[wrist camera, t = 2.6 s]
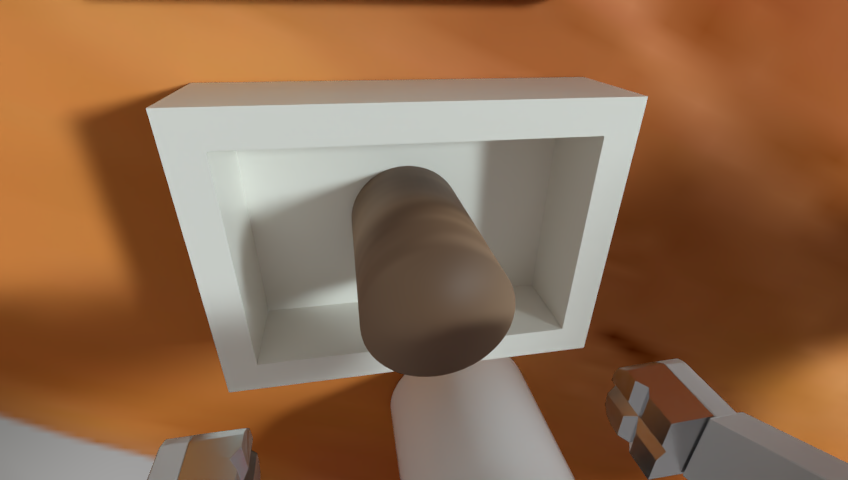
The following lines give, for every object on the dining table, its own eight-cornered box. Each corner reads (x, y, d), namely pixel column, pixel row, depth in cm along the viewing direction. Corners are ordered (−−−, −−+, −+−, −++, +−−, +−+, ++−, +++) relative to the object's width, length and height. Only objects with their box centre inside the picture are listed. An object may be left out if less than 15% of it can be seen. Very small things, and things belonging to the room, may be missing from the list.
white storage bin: (584, 77, 17) (648, 96, 13) (544, 293, 22) (583, 347, 18) (190, 83, 14) (145, 108, 11) (247, 323, 20) (229, 392, 16)
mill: (461, 163, 17) (524, 243, 11) (455, 259, 19) (506, 367, 13) (347, 168, 16) (354, 257, 10) (355, 267, 18) (364, 385, 13)
